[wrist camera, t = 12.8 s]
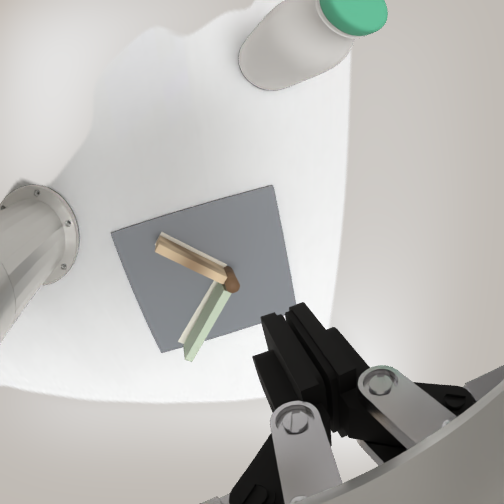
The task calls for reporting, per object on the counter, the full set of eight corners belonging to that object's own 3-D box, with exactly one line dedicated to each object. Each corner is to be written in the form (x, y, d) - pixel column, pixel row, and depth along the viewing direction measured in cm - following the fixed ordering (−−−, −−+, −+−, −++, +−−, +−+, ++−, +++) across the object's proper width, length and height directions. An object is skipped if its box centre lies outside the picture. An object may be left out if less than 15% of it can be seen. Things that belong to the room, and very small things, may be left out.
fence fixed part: (155, 243, 36) (153, 256, 32) (161, 231, 36) (159, 243, 32) (228, 278, 40) (235, 295, 36) (234, 268, 40) (242, 283, 36)
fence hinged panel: (220, 278, 39) (224, 290, 36) (227, 281, 39) (231, 293, 36) (183, 345, 41) (184, 359, 38) (189, 347, 41) (191, 362, 38)
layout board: (161, 351, 41) (161, 353, 41) (111, 232, 34) (110, 233, 34) (296, 310, 44) (297, 311, 44) (272, 185, 37) (273, 185, 37)
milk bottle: (285, 102, 34) (391, 75, 16) (226, 74, 32) (286, 9, 13) (308, 51, 32) (416, 0, 14) (253, 23, 30) (327, -62, 12)
